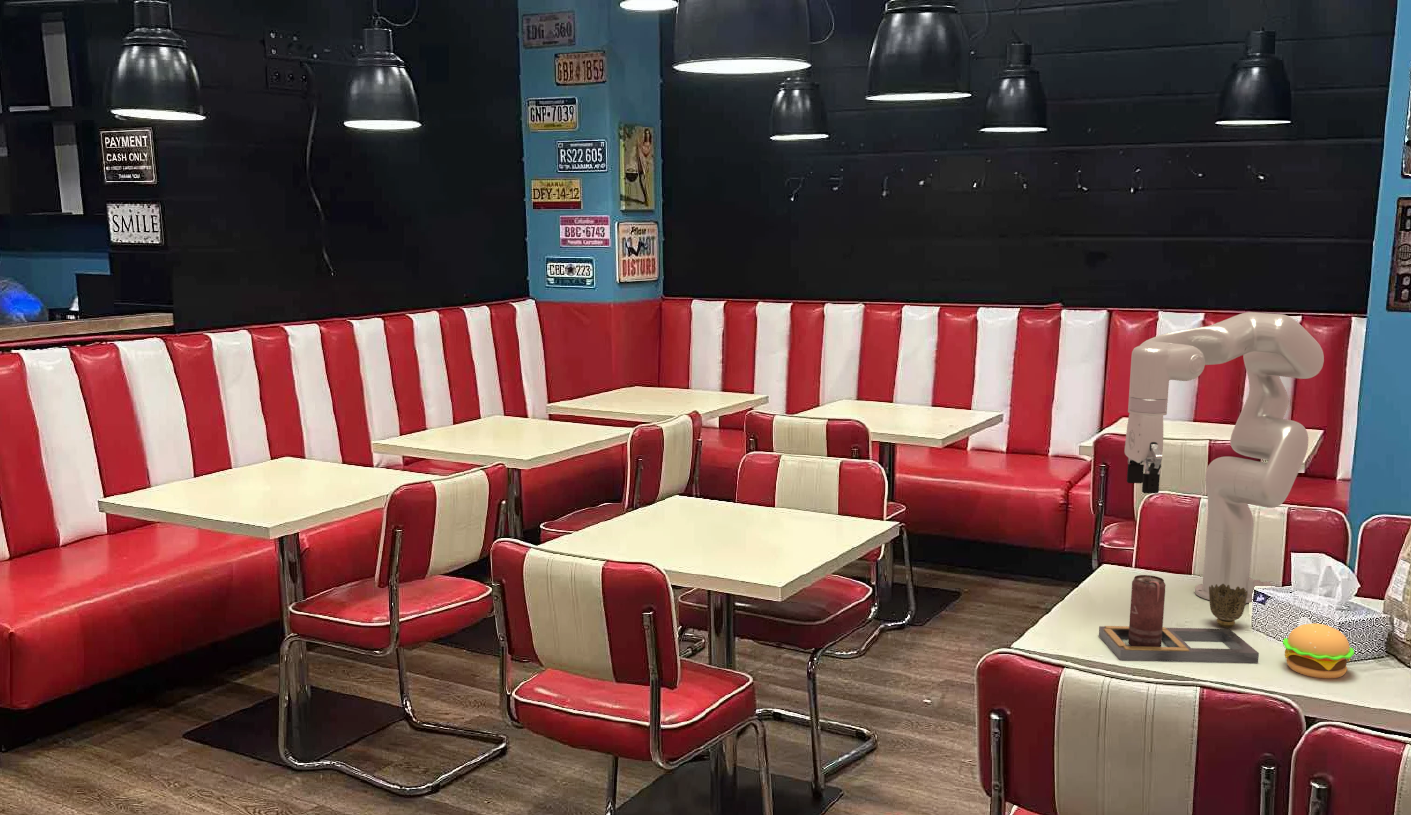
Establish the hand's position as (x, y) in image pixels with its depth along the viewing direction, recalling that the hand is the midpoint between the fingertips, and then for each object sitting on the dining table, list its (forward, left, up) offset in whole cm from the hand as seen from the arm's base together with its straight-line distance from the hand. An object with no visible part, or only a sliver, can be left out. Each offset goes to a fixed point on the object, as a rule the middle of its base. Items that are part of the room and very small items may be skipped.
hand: (1142, 487), depth 252 cm
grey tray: (-2, +18, -28) cm, 34 cm away
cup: (-18, +3, -28) cm, 34 cm away
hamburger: (-25, +28, -29) cm, 47 cm away
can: (+3, +17, -28) cm, 34 cm away
